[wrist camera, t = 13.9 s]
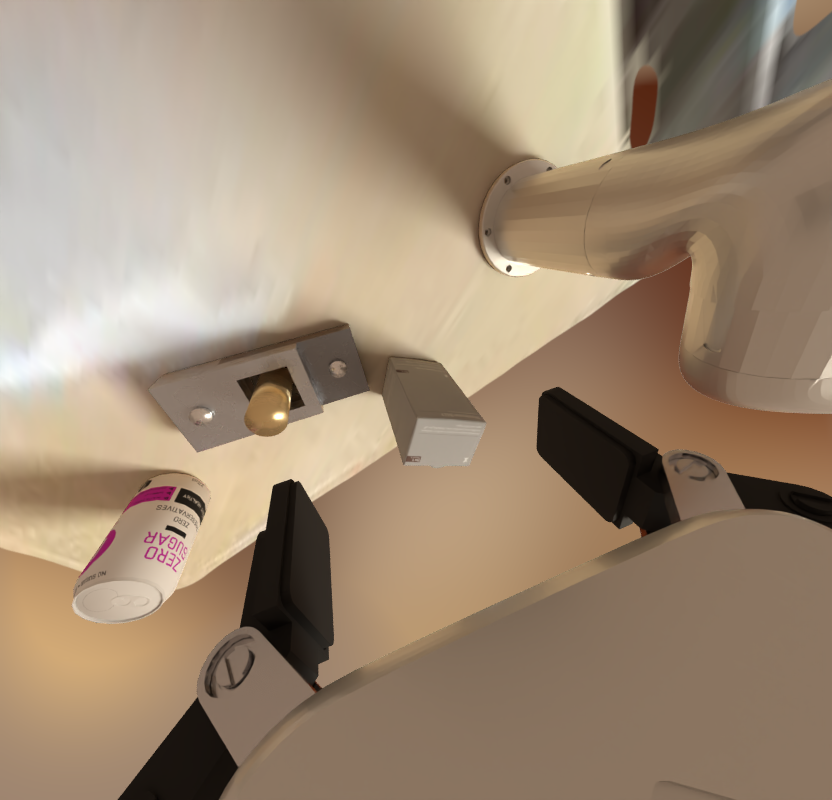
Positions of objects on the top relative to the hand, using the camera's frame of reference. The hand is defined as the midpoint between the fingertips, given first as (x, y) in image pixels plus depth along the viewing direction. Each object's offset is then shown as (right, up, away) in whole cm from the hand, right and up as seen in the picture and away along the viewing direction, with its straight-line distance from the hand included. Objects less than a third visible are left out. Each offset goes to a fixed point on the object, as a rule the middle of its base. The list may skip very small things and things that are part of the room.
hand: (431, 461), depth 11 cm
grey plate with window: (-19, +5, +27) cm, 33 cm away
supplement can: (-35, -11, +31) cm, 47 cm away
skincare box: (-2, +5, +33) cm, 34 cm away
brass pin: (-19, +5, +27) cm, 33 cm away
